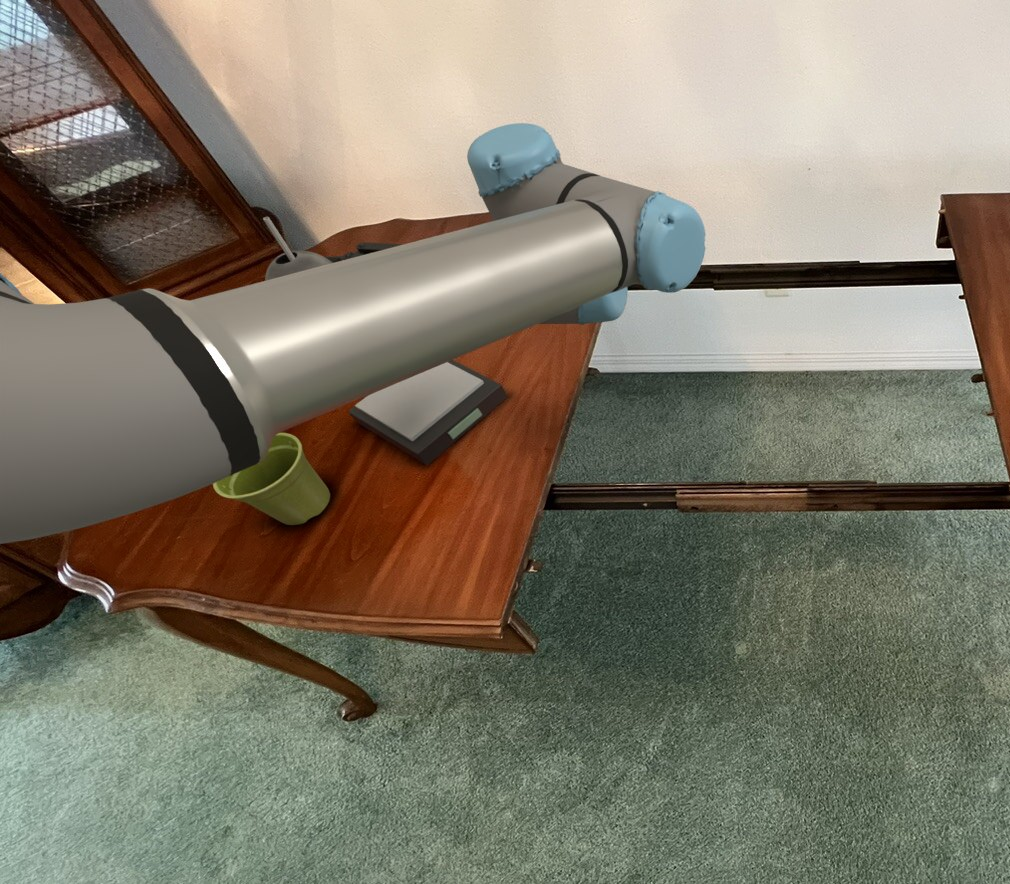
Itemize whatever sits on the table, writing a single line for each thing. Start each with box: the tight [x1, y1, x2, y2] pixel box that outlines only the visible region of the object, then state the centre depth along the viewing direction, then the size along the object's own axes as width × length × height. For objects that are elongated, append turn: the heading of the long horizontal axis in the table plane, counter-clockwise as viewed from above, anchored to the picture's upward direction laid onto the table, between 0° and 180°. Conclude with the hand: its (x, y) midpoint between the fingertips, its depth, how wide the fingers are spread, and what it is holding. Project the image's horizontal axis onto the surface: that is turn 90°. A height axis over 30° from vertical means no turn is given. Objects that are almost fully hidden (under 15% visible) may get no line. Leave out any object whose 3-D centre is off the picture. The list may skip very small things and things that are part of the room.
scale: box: [347, 359, 509, 467], centre depth 91 cm, size 14×15×3 cm
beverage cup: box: [262, 216, 333, 281], centre depth 72 cm, size 7×7×20 cm
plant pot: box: [212, 432, 331, 526], centre depth 80 cm, size 9×9×9 cm
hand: (270, 294), depth 71 cm, fingers closed on beverage cup, 7 cm apart
